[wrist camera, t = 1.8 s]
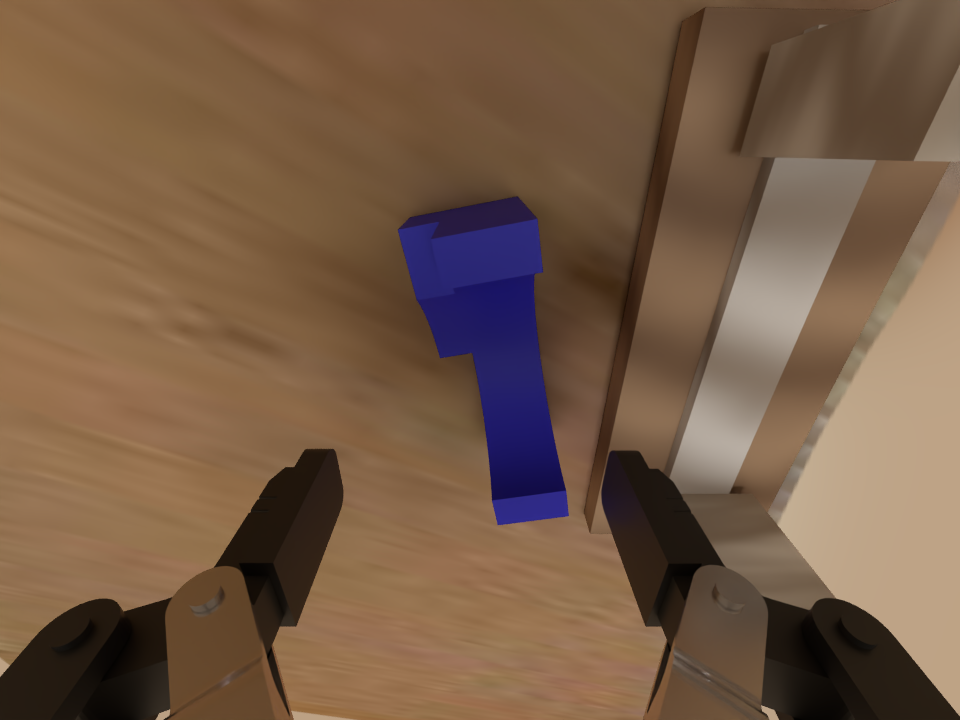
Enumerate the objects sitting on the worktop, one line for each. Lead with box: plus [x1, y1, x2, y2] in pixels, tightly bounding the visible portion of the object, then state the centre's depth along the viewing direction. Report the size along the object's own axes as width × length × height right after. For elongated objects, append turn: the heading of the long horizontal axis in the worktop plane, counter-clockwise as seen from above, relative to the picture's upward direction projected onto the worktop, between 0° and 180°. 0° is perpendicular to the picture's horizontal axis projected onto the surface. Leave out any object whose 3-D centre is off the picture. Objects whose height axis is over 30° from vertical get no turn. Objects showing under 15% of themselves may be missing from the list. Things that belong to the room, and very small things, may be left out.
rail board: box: [584, 0, 960, 610], centre depth 15 cm, size 24×10×8 cm, turn 179°
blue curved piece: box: [398, 197, 569, 525], centre depth 16 cm, size 12×4×6 cm, turn 10°
